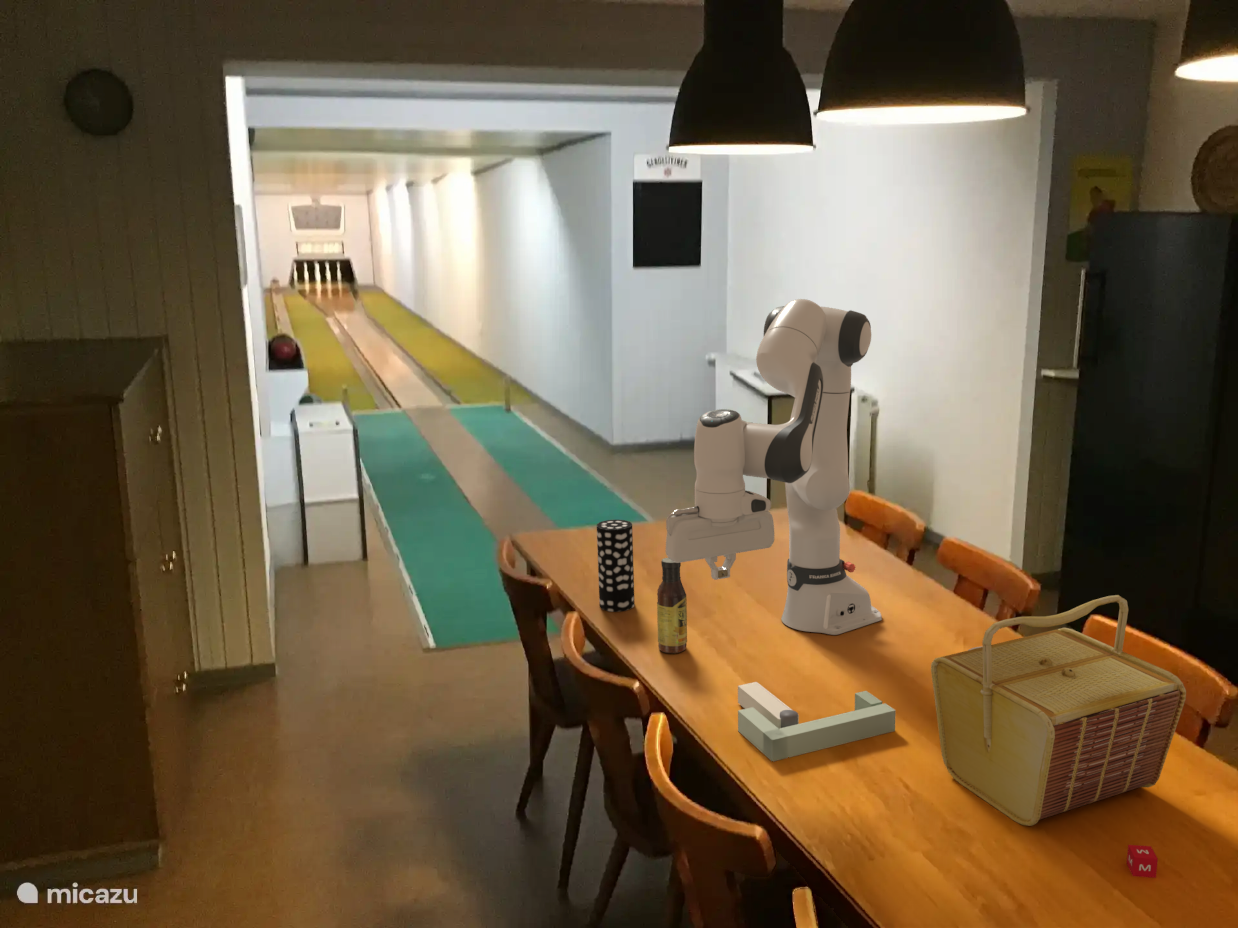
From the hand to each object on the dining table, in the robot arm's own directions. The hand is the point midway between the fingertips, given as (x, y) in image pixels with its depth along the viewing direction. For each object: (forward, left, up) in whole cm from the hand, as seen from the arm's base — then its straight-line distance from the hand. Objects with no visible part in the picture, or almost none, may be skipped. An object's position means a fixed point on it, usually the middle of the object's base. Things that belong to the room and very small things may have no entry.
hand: (720, 577), depth 190 cm
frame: (-12, +12, -27) cm, 32 cm away
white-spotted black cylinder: (-4, -61, -27) cm, 67 cm away
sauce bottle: (-5, -32, -27) cm, 42 cm away
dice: (-31, +66, -27) cm, 78 cm away
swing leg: (-7, +5, -27) cm, 28 cm away
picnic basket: (-36, +43, -27) cm, 62 cm away
